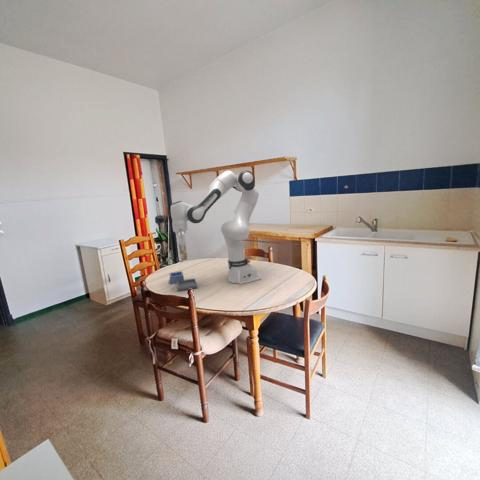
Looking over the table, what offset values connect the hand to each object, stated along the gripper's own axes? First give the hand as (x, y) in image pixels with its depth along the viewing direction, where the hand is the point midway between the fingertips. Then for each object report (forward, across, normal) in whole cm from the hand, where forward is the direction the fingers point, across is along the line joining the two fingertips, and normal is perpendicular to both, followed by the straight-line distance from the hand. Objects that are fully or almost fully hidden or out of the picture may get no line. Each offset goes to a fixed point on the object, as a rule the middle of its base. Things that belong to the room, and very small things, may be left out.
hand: (182, 249), depth 164 cm
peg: (+7, 0, 0) cm, 7 cm away
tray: (+25, 0, 0) cm, 25 cm away
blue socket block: (+25, +14, +6) cm, 29 cm away
